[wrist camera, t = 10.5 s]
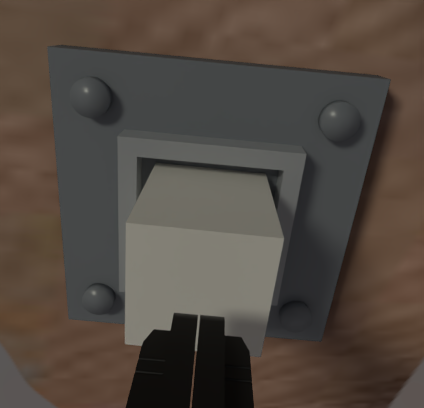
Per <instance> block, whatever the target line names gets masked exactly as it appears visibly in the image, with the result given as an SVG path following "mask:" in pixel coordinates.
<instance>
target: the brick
mask: <svg viewBox="0 0 424 408" xmlns="http://www.w3.org/2000/svg"><path fill="white" fill-rule="evenodd" d="M283 242H284V236H283V233H282V229H281V226H280V222H279V219H278V215H277V211H276V208H275V204H274V201H273V197H272V194H271V190H270V187H269V183H268V180H267V176H266V174H264V173H254V172H244V171H234V170H224V169H215V168H205V167H195V166H185V165H175V164H166V163H156V164H155V166H154V168H153V170H152V172H151V174H150V176H149V178H148V180H147V182H146V184H145V185H144V187H143V189H142V191H141V193H140V195H139V197H138V199H137V201H136V203H135V205H134V207H133V209H132V211H131V213H130V215H129V217H128V219H127V221H126V256H125V344H130V345H140V346H142V344H143V341H144V340H145V339H146V338H147V336H148V335H149V334H150V333H151V332H152V331H153V329H157V330H168V331H170V330H171V325H172V319H173V314H174V313H184V314H195V315H198V321H197V332H196V343H195V351H197V344H198V334H199V323H200V315H208V316H219V317H224V318H225V336H236V337H242V339H243V341H244V343H245V344H246V346H247V348H248V349H249V351H250V356H255V357H261V353H262V348H263V343H264V338H265V333H266V328H267V323H268V317H269V312H270V307H271V302H272V297H273V292H274V287H275V282H276V277H277V272H278V267H279V262H280V257H281V252H282V247H283Z"/></svg>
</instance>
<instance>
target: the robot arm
mask: <svg viewBox="0 0 424 408" xmlns="http://www.w3.org/2000/svg"><path fill="white" fill-rule="evenodd" d="M197 321H198V315H195V314H184V313H174V314H173V319H172V325H171V330H170V331H168V330H157V329H153V331H152V332H151V333H150V334H149V335H148V336H147V338H146V339H145V340H144V341H143V344H142V347H141V351H140V355H139V360H138V363H137V367H136V371H135V374H134V378H133V382H132V386H131V389H130V393H129V397H128V401H127V405H126V408H190V397H191V386H192V375H193V365H194V354H195V343H196V332H197ZM192 408H254V403H253V390H252V377H251V364H250V351H249V349H248V348H247V346H246V344H245V343H244V341H243V339H242V337H236V336H225V318H224V317H219V316H208V315H200V323H199V334H198V344H197V355H196V366H195V377H194V388H193V400H192Z"/></svg>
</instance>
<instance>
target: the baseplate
mask: <svg viewBox="0 0 424 408" xmlns="http://www.w3.org/2000/svg"><path fill="white" fill-rule="evenodd" d="M47 48H48V60H49V73H50V86H51V99H52V112H53V124H54V137H55V150H56V163H57V175H58V188H59V201H60V214H61V226H62V239H63V252H64V265H65V278H66V290H67V303H68V316H69V319H73V320H85V321H96V322H107V323H118V324H125V256H126V221H127V219H128V217H129V215H130V213H131V211H132V209H133V207H134V205H135V203H136V201H137V199H138V197H139V195H140V193H141V191H142V189H143V187H144V185H145V184H146V182H147V180H148V178H149V176H150V174H151V172H152V170H153V168H154V166H155V164H156V163H166V164H175V165H185V166H195V167H205V168H215V169H224V170H234V171H244V172H254V173H264V174H266V176H267V180H268V183H269V187H270V190H271V194H272V197H273V201H274V204H275V208H276V211H277V215H278V219H279V222H280V226H281V229H282V233H283V236H284V242H283V247H282V252H281V257H280V262H279V267H278V272H277V277H276V282H275V287H274V292H273V297H272V302H271V307H270V312H269V317H268V323H267V328H266V333H265V337H275V338H287V339H298V340H309V341H320V342H321V341H322V337H323V333H324V329H325V325H326V322H327V318H328V314H329V310H330V307H331V303H332V299H333V295H334V292H335V288H336V284H337V280H338V276H339V273H340V269H341V265H342V261H343V258H344V254H345V250H346V246H347V242H348V239H349V235H350V231H351V227H352V224H353V220H354V216H355V212H356V209H357V205H358V201H359V197H360V193H361V190H362V186H363V182H364V178H365V175H366V171H367V167H368V163H369V160H370V156H371V152H372V148H373V144H374V141H375V137H376V133H377V129H378V126H379V122H380V118H381V114H382V111H383V107H384V103H385V99H386V95H387V92H388V88H389V84H390V80H391V79H387V78H384V77H381V76H378V75H368V74H358V73H347V72H337V71H327V70H316V69H306V68H295V67H285V66H275V65H264V64H254V63H244V62H233V61H223V60H212V59H202V58H192V57H181V56H171V55H160V54H150V53H140V52H129V51H119V50H109V49H98V48H88V47H77V46H67V45H57V46H48V47H47Z"/></svg>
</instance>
